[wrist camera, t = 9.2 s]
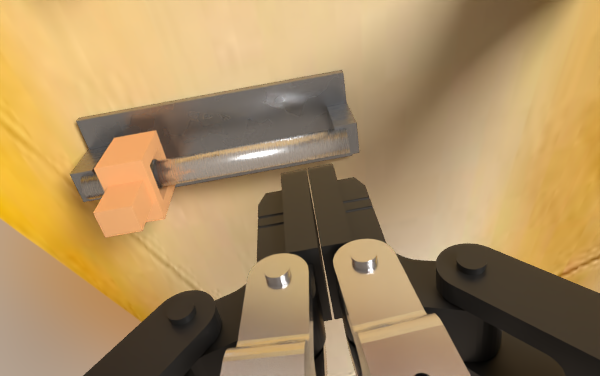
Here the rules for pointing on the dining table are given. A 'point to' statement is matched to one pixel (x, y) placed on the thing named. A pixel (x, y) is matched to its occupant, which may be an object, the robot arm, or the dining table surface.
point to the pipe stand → (230, 132)
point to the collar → (131, 185)
